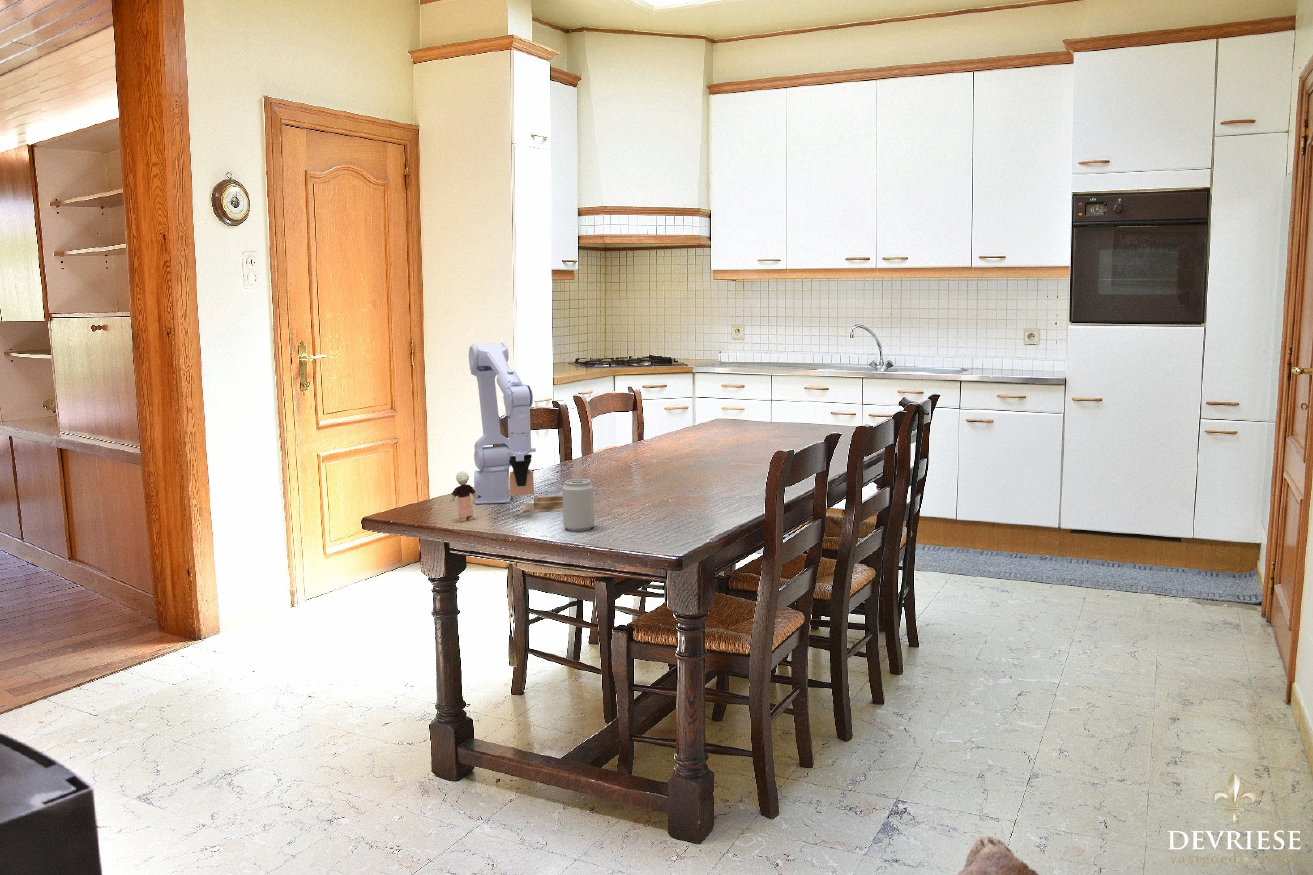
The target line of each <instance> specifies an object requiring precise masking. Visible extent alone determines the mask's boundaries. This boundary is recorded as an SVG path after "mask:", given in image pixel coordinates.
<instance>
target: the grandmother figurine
mask: <svg viewBox="0 0 1313 875" xmlns="http://www.w3.org/2000/svg"><path fill="white" fill-rule="evenodd" d="M455 480H456V481H457V483H458V485H459V486H457V487H455V488H454V489H453V491H452V492H451V496H450V499H449V500H450V502H451V503H453V502H455V498H456V497H457V506H458V513H457V514H458V518H457V522H467V521H472V520H475V518H474V513H473V510H474V509H473V504H472V500H471V496H470V495H472V496H473V498H474V500H475V499H477V498H478V496H477V495H476V492H475V488H473V486H472V485H471V484H467V483H468V481H469V480H470V476H469V474H468V473H467V472H466V471H459V472H458V473H457V474H456V475H455Z"/></svg>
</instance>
